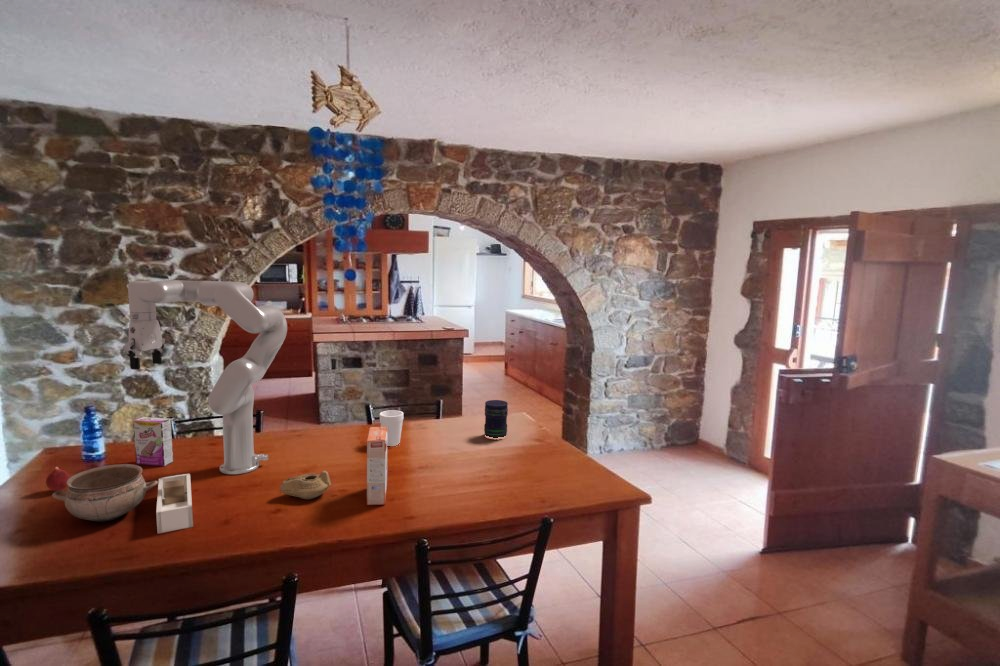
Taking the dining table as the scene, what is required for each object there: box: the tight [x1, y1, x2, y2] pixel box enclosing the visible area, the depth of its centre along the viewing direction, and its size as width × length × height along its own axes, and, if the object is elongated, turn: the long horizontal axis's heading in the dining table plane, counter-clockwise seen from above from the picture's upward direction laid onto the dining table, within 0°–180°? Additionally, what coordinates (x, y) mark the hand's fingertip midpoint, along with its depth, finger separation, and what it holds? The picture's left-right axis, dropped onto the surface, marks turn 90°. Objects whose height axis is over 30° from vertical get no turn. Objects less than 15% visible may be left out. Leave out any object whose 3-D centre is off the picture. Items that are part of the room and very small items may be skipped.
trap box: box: [155, 473, 194, 534], centre depth 160 cm, size 8×26×6 cm, turn 30°
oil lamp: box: [279, 470, 332, 500], centre depth 172 cm, size 11×15×8 cm
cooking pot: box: [51, 463, 159, 523], centre depth 155 cm, size 25×19×12 cm
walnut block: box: [164, 479, 185, 505], centre depth 161 cm, size 5×5×5 cm
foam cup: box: [379, 409, 404, 447], centre depth 221 cm, size 10×9×13 cm
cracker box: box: [366, 426, 388, 506], centre depth 173 cm, size 14×6×21 cm, turn 9°
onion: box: [45, 466, 71, 492], centre depth 171 cm, size 6×6×8 cm
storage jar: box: [484, 399, 509, 438], centre depth 234 cm, size 10×10×15 cm
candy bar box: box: [132, 416, 174, 467], centre depth 195 cm, size 11×5×16 cm, turn 84°
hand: (146, 366), depth 189 cm, fingers open, 9 cm apart
